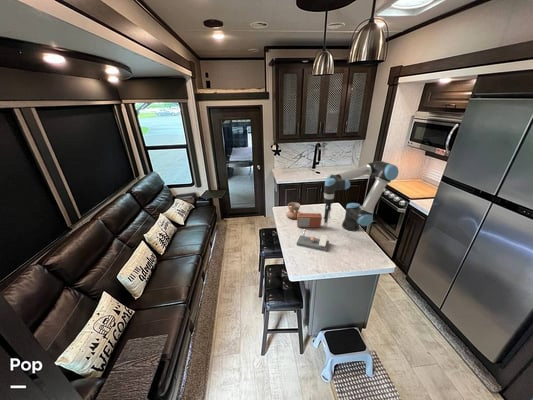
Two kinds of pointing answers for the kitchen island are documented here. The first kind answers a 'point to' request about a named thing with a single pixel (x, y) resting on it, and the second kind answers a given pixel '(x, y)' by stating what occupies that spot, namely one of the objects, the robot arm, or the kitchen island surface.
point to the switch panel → (311, 243)
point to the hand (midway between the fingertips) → (326, 221)
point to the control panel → (309, 219)
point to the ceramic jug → (293, 210)
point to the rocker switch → (323, 240)
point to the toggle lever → (304, 232)
